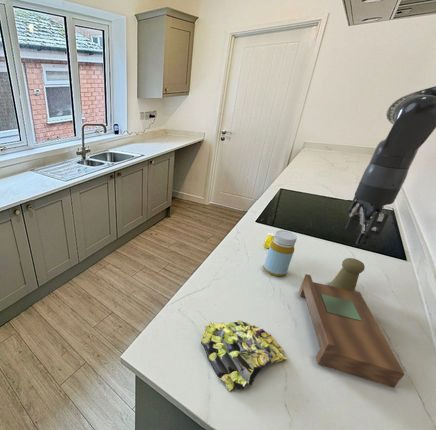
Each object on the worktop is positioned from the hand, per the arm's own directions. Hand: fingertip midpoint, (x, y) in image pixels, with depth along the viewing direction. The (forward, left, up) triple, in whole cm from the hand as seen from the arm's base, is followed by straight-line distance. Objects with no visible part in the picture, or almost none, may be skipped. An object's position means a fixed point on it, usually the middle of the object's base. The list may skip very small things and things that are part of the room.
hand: (355, 237), depth 72 cm
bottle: (+14, -7, -22) cm, 27 cm away
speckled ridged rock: (+24, +32, -22) cm, 45 cm away
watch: (+15, -23, -22) cm, 35 cm away
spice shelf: (+1, +15, -21) cm, 26 cm away
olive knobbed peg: (-5, -5, -22) cm, 23 cm away
